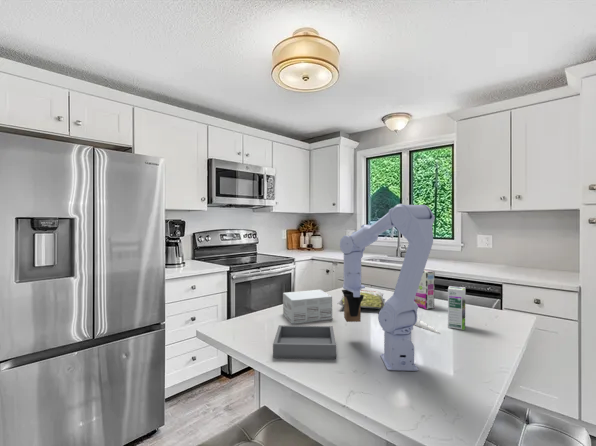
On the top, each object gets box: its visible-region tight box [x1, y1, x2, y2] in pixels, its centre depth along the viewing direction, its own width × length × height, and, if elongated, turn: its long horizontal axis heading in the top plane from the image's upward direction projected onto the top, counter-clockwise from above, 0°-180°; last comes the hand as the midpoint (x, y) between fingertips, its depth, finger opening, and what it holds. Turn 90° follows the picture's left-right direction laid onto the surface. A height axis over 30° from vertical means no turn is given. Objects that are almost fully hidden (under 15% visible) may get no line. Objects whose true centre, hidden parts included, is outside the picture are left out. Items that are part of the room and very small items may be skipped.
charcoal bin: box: [272, 324, 337, 360], centre depth 102 cm, size 16×18×4 cm
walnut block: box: [343, 297, 362, 323], centre depth 107 cm, size 4×4×7 cm
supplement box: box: [282, 289, 333, 325], centre depth 132 cm, size 17×13×9 cm
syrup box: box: [447, 285, 466, 331], centre depth 120 cm, size 6×6×14 cm
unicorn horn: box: [414, 317, 441, 334], centre depth 123 cm, size 5×24×5 cm, turn 24°
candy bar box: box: [414, 269, 436, 310], centre depth 147 cm, size 11×5×16 cm, turn 25°
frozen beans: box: [337, 289, 385, 310], centre depth 150 cm, size 21×6×25 cm
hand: (352, 313), depth 107 cm, fingers closed on walnut block, 4 cm apart
